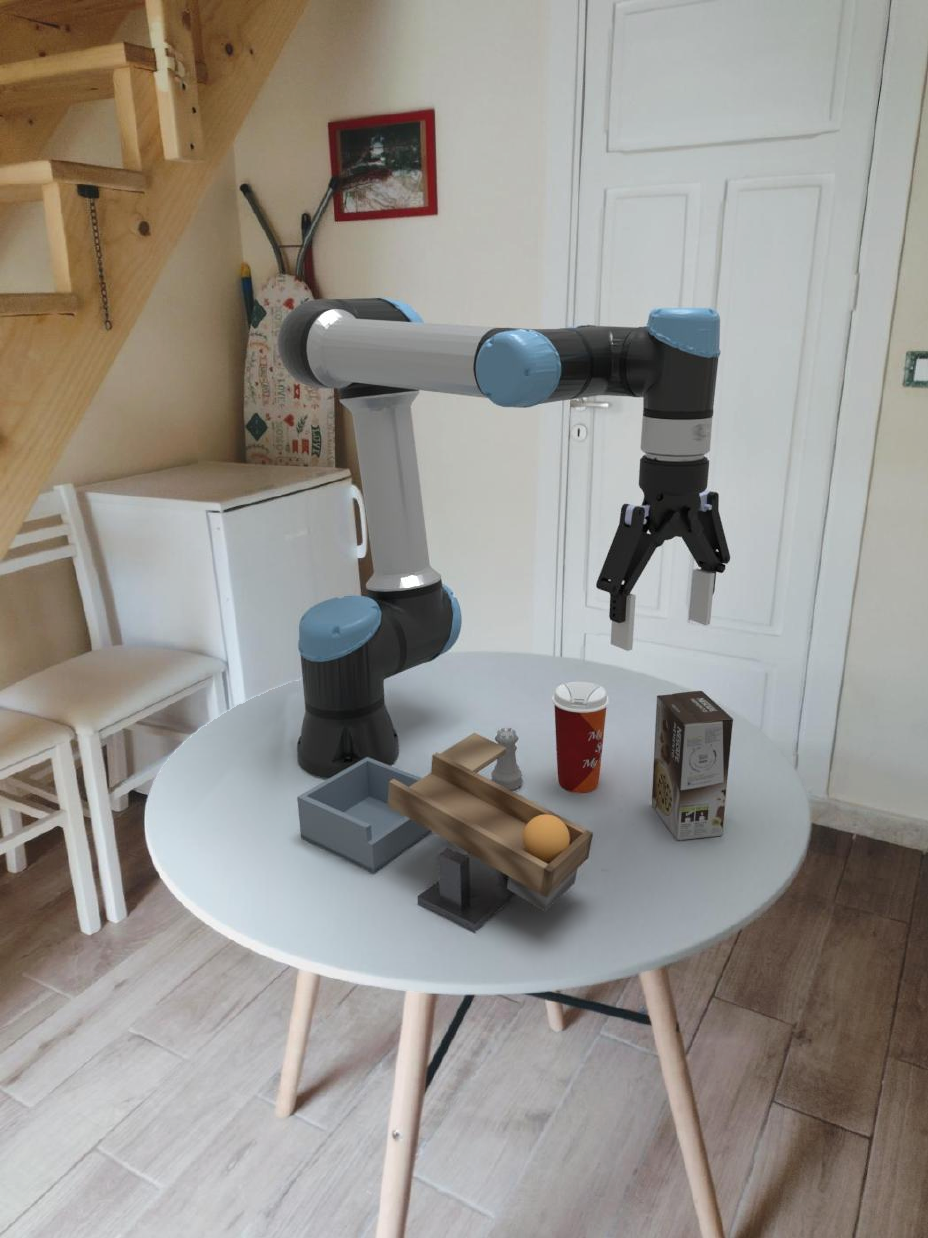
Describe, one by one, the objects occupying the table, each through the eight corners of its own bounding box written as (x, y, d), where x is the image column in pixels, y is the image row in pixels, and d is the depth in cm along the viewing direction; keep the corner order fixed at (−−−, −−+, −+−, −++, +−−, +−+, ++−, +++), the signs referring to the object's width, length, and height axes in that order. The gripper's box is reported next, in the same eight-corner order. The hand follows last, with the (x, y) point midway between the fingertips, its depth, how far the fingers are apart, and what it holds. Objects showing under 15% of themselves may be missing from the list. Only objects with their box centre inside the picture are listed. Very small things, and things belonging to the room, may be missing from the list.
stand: (417, 904, 98) (415, 850, 95) (495, 841, 109) (495, 792, 106) (474, 932, 93) (473, 876, 91) (550, 864, 104) (550, 813, 102)
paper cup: (604, 799, 118) (608, 705, 113) (547, 794, 119) (549, 701, 114) (607, 771, 125) (610, 681, 120) (553, 766, 126) (555, 677, 122)
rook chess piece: (513, 795, 119) (512, 742, 116) (485, 786, 121) (484, 734, 119) (528, 780, 123) (528, 729, 120) (500, 772, 125) (500, 722, 122)
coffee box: (724, 836, 109) (735, 719, 103) (676, 842, 108) (684, 724, 103) (694, 798, 117) (703, 688, 112) (649, 803, 116) (655, 693, 111)
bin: (301, 838, 110) (297, 796, 108) (369, 795, 120) (367, 757, 118) (374, 873, 103) (371, 830, 101) (440, 825, 112) (439, 784, 110)
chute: (614, 849, 102) (623, 805, 100) (542, 920, 91) (550, 872, 88) (466, 772, 114) (471, 731, 111) (386, 826, 102) (389, 781, 100)
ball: (507, 848, 94) (523, 818, 91) (532, 827, 97) (549, 797, 94) (542, 880, 92) (560, 850, 89) (567, 857, 95) (585, 828, 93)
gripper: (619, 472, 87) (609, 668, 94) (772, 447, 101) (753, 620, 108) (568, 462, 92) (562, 648, 100) (719, 440, 106) (704, 604, 114)
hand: (661, 634), depth 104 cm, fingers open, 13 cm apart
